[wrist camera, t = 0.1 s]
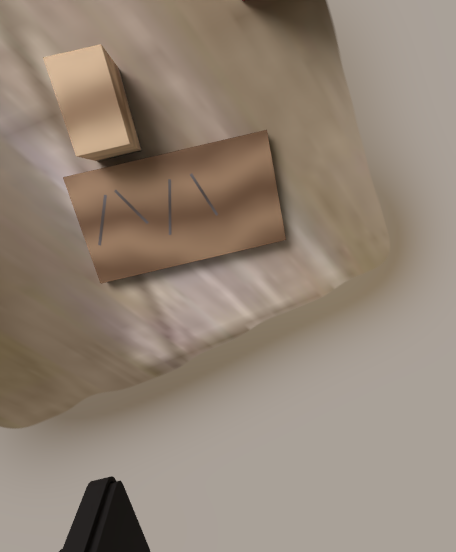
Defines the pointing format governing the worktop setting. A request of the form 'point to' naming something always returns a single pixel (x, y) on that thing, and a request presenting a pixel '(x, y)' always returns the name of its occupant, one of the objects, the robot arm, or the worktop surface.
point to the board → (178, 206)
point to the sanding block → (93, 103)
